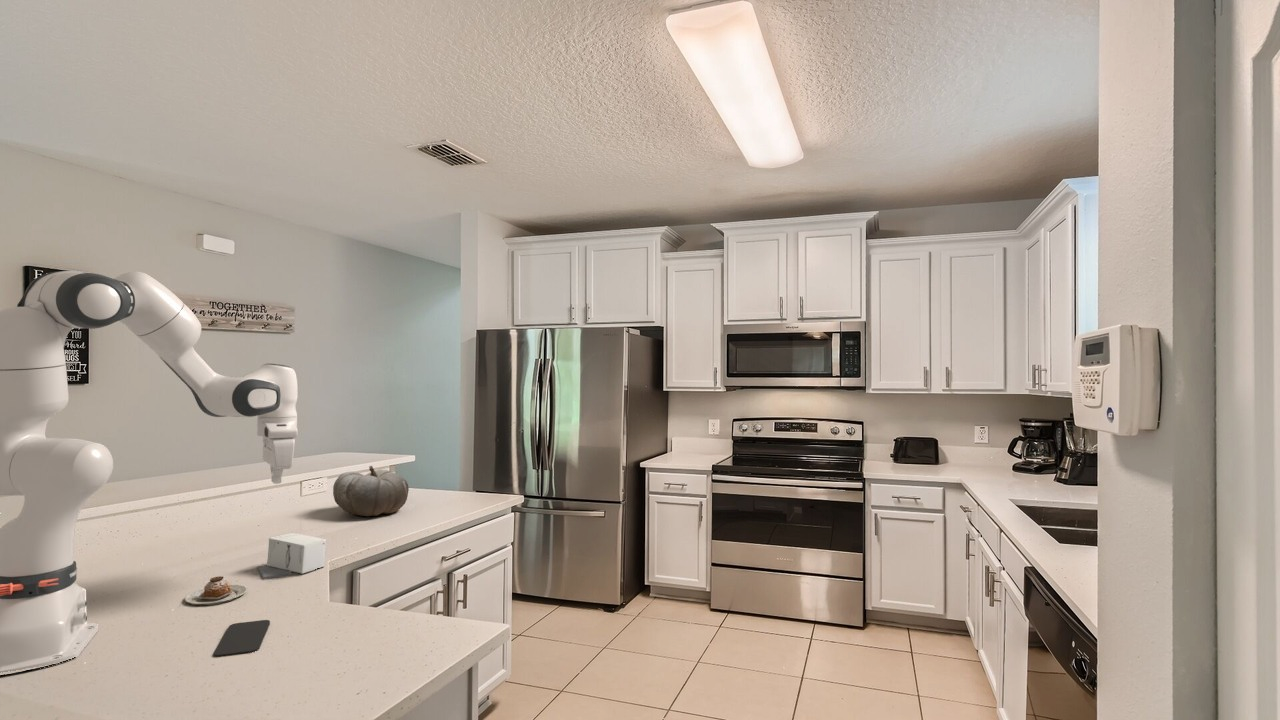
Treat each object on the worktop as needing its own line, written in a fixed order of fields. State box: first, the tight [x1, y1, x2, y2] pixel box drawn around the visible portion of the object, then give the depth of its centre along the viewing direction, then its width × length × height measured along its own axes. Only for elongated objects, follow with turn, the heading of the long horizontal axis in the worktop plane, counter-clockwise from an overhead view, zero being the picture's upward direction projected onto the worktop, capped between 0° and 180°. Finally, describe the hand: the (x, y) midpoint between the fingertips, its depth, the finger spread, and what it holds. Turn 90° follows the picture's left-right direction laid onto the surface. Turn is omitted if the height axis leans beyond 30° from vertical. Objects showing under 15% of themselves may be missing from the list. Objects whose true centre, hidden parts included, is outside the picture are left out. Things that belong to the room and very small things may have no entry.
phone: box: [213, 619, 271, 658], centre depth 129 cm, size 7×1×15 cm
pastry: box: [184, 576, 248, 606], centre depth 151 cm, size 12×12×5 cm
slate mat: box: [257, 564, 292, 580], centre depth 169 cm, size 10×6×1 cm, turn 38°
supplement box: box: [266, 532, 327, 574], centre depth 172 cm, size 7×7×13 cm
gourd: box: [332, 465, 409, 517], centre depth 233 cm, size 25×25×17 cm
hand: (276, 482), depth 167 cm, fingers closed
